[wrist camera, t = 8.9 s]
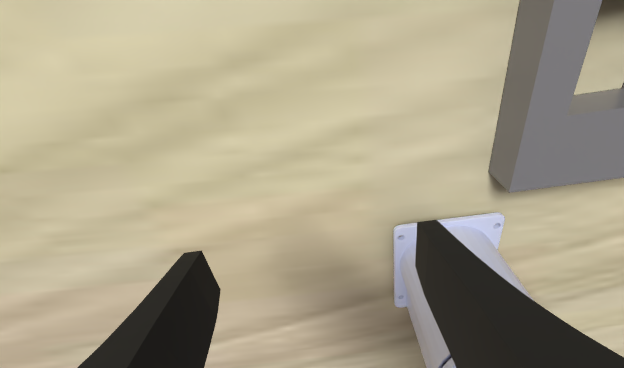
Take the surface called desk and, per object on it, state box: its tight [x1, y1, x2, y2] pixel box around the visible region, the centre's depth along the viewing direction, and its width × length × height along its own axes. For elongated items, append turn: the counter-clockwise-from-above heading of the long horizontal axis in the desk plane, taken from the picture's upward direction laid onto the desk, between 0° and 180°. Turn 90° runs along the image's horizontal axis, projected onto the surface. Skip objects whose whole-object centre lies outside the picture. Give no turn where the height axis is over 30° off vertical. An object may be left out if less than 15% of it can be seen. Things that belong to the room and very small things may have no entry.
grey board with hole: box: [489, 0, 624, 193], centre depth 16 cm, size 15×9×2 cm, turn 8°
